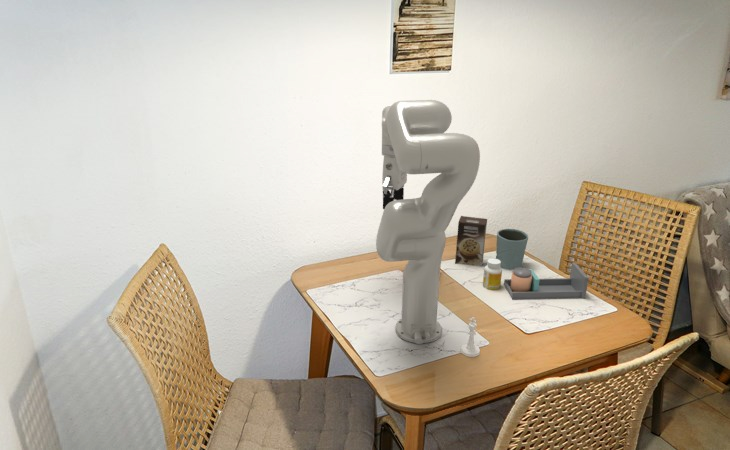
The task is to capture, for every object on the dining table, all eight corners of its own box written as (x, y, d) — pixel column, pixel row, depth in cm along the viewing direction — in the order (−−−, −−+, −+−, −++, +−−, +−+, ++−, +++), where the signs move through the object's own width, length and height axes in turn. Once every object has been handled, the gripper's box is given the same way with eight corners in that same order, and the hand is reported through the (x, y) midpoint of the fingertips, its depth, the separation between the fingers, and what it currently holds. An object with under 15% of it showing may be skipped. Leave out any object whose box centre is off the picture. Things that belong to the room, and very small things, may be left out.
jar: (532, 296, 168) (535, 275, 165) (513, 296, 167) (515, 275, 165) (526, 286, 173) (529, 266, 171) (507, 287, 173) (509, 266, 170)
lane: (584, 301, 167) (588, 277, 164) (512, 302, 166) (515, 278, 163) (571, 285, 176) (575, 262, 173) (502, 286, 175) (505, 263, 172)
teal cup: (499, 258, 195) (502, 226, 190) (528, 264, 190) (532, 232, 186) (489, 269, 187) (492, 236, 182) (519, 276, 182) (523, 242, 177)
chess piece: (466, 343, 146) (469, 310, 142) (483, 350, 143) (486, 317, 139) (456, 352, 143) (459, 318, 139) (474, 359, 140) (477, 325, 136)
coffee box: (454, 265, 189) (457, 221, 183) (457, 258, 195) (460, 215, 189) (481, 269, 187) (485, 224, 180) (483, 261, 192) (487, 218, 186)
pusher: (537, 296, 167) (539, 279, 165) (533, 296, 167) (535, 279, 165) (530, 285, 174) (532, 269, 172) (526, 285, 174) (528, 269, 171)
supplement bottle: (478, 288, 174) (481, 260, 171) (489, 283, 178) (492, 255, 174) (492, 294, 171) (495, 266, 167) (503, 289, 174) (506, 261, 170)
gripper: (397, 157, 154) (396, 215, 160) (415, 144, 169) (413, 197, 175) (372, 155, 156) (371, 212, 163) (391, 142, 171) (390, 195, 178)
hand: (393, 204), depth 169 cm, fingers open, 9 cm apart
